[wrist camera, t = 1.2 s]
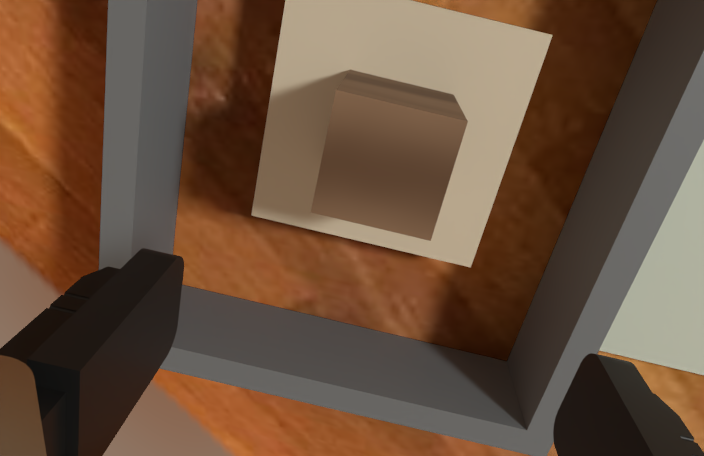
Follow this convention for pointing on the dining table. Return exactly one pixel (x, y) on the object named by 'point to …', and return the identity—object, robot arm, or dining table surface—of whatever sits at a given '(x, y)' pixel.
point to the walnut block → (388, 154)
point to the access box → (446, 243)
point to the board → (668, 288)
